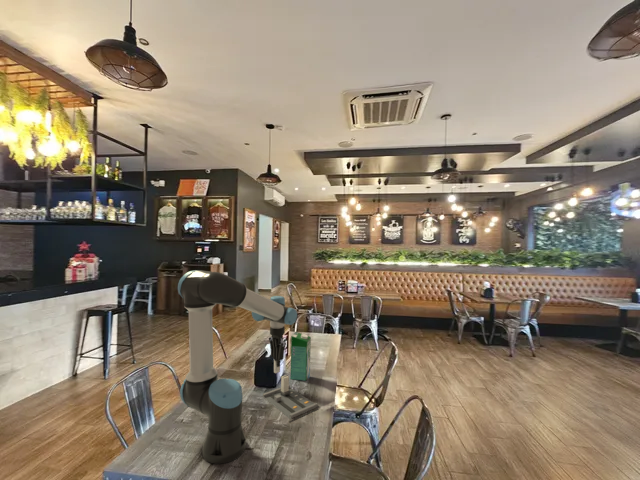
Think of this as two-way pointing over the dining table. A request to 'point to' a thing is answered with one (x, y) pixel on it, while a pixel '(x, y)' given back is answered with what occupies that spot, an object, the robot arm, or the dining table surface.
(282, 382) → the fader
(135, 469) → the dining table surface
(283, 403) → the console
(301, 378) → the milk carton
